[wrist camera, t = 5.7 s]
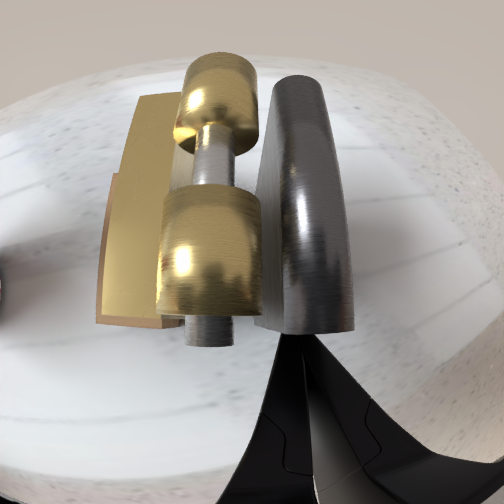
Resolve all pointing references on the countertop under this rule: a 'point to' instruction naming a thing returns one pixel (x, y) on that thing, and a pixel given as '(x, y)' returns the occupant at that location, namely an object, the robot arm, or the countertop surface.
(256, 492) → the robot arm
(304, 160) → the rounded metal slab
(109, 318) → the block
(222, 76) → the fixed leaf
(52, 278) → the countertop surface
